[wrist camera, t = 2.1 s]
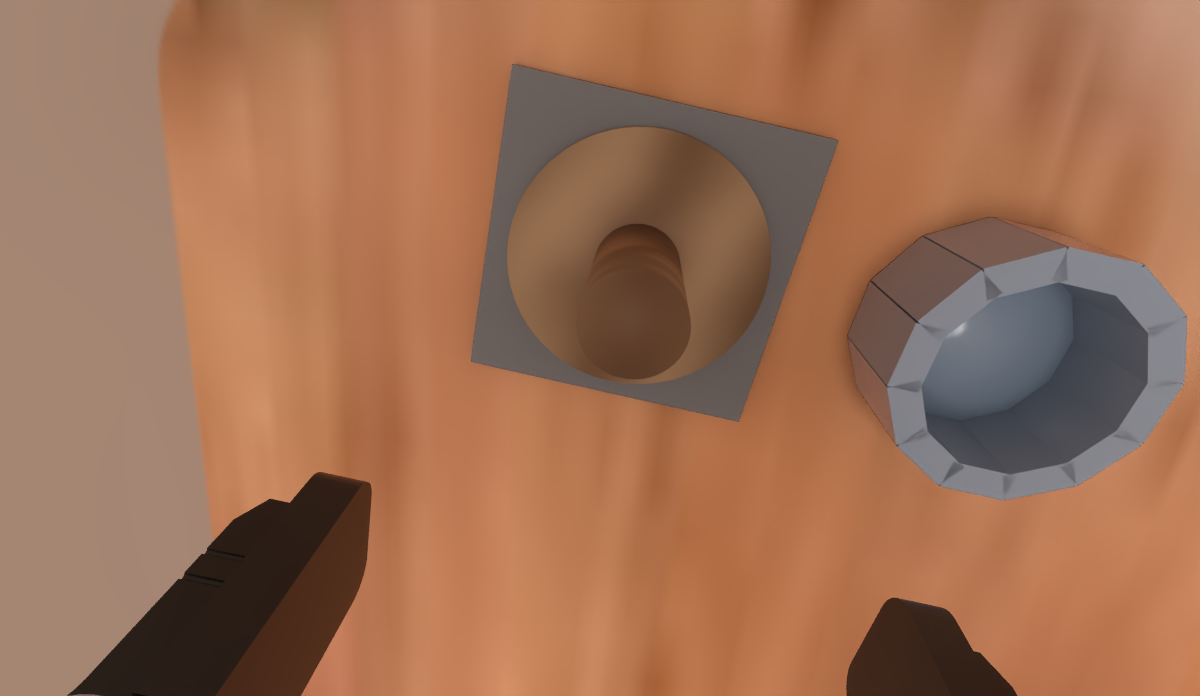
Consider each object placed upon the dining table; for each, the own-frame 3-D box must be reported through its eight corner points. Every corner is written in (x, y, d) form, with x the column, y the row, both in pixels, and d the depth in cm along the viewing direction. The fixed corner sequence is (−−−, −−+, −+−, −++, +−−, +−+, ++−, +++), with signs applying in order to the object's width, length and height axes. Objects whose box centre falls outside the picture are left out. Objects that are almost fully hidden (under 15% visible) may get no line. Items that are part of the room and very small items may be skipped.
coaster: (835, 139, 24) (838, 140, 24) (737, 416, 30) (738, 421, 29) (514, 64, 24) (512, 64, 24) (473, 357, 29) (470, 361, 29)
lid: (805, 160, 24) (870, 193, 17) (724, 399, 29) (749, 503, 22) (533, 97, 24) (485, 103, 17) (494, 347, 28) (443, 435, 21)
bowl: (1139, 251, 25) (1249, 288, 21) (1021, 451, 29) (1091, 520, 25) (905, 196, 25) (962, 221, 20) (818, 405, 29) (850, 466, 24)
